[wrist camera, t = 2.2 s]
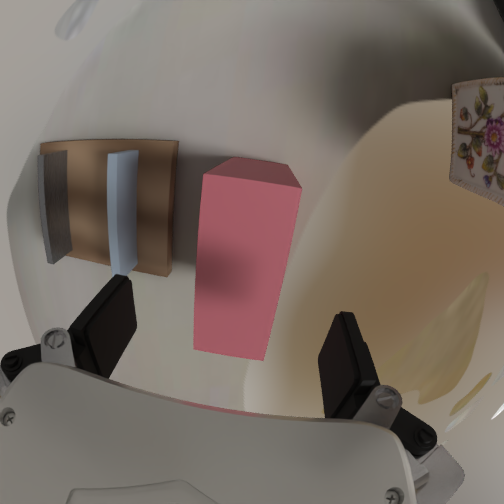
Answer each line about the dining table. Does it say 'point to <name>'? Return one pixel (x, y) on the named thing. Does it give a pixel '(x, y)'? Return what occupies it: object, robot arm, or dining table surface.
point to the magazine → (500, 7)
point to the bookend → (54, 204)
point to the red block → (242, 254)
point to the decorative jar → (478, 137)
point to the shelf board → (95, 199)
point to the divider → (122, 210)
